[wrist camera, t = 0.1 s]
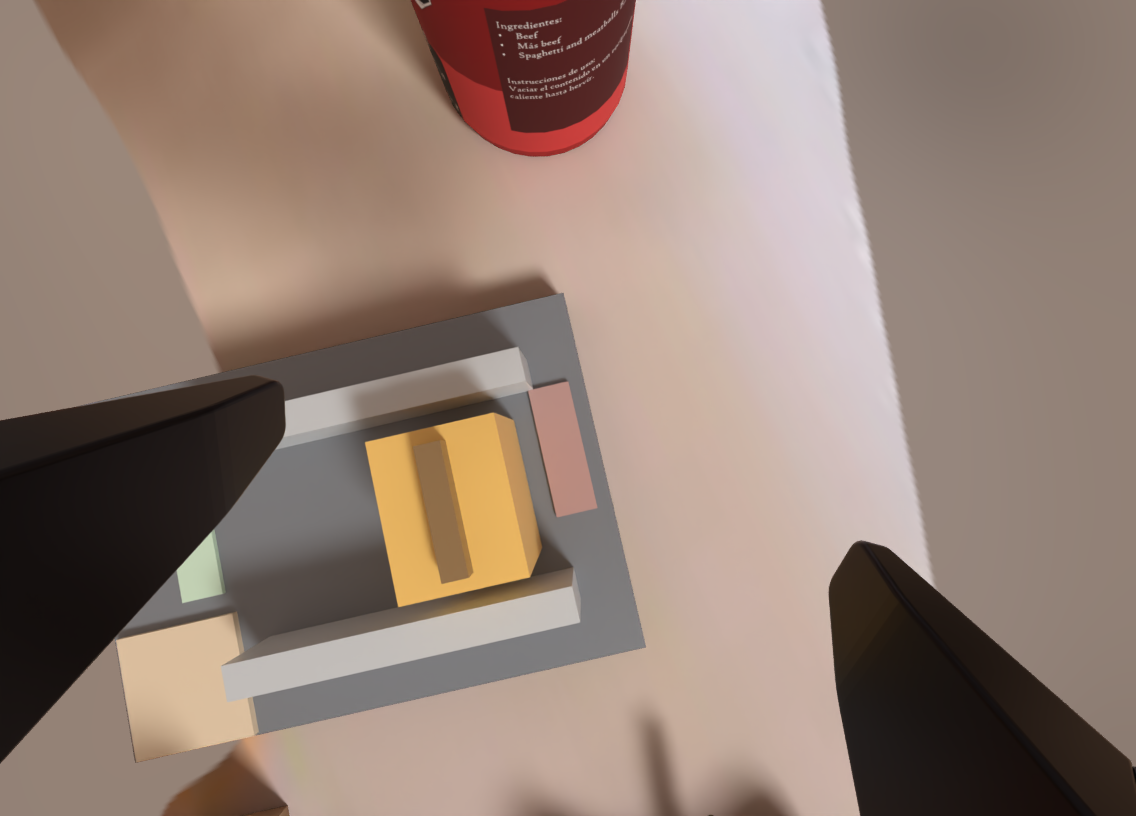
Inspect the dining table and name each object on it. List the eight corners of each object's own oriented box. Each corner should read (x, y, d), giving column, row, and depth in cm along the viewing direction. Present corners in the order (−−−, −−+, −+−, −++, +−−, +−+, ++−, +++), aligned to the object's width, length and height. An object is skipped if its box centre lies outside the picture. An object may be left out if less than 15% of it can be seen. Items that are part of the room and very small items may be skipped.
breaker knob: (542, 547, 22) (527, 583, 16) (440, 570, 22) (390, 614, 16) (513, 420, 22) (489, 411, 16) (414, 443, 22) (355, 441, 16)
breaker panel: (642, 634, 23) (656, 679, 19) (164, 742, 23) (63, 812, 19) (564, 302, 24) (560, 269, 20) (107, 408, 24) (-1, 400, 20)
